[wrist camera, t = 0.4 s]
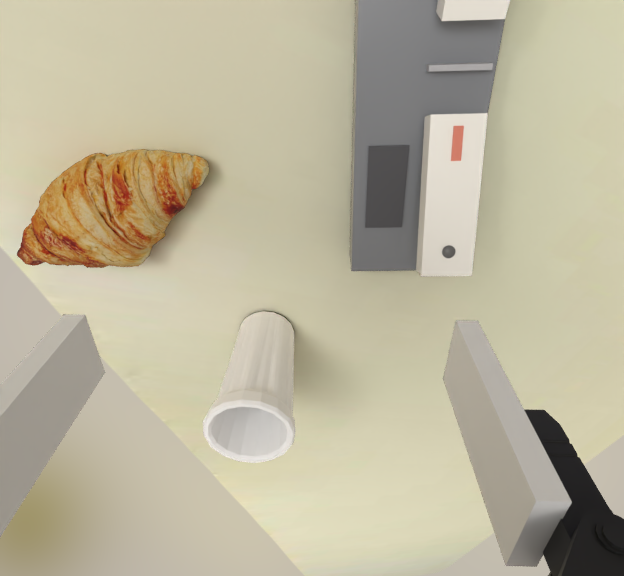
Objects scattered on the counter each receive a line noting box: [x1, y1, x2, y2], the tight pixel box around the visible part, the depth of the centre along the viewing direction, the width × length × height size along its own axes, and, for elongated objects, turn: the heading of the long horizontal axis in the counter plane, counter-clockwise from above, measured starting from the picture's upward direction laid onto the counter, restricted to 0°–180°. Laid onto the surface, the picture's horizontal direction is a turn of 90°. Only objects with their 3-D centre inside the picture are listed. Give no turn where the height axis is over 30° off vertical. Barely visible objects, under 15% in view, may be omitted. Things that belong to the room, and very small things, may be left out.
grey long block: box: [350, 0, 505, 271], centre depth 32 cm, size 34×10×4 cm, turn 2°
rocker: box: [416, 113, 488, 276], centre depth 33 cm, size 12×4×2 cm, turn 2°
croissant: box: [17, 149, 209, 268], centre depth 39 cm, size 21×10×8 cm, turn 117°
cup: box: [203, 311, 295, 463], centre depth 43 cm, size 8×8×14 cm
